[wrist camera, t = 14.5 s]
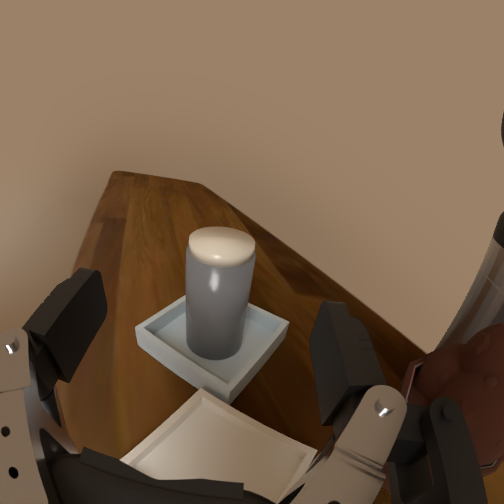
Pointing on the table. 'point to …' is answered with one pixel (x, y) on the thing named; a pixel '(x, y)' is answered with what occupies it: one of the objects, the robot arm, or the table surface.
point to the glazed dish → (203, 370)
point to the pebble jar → (217, 290)
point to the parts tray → (221, 449)
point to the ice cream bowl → (465, 390)
